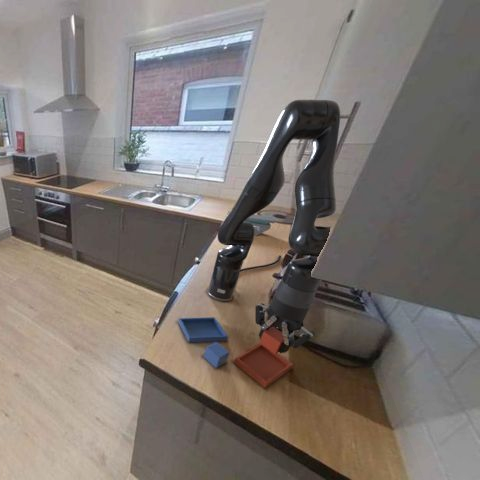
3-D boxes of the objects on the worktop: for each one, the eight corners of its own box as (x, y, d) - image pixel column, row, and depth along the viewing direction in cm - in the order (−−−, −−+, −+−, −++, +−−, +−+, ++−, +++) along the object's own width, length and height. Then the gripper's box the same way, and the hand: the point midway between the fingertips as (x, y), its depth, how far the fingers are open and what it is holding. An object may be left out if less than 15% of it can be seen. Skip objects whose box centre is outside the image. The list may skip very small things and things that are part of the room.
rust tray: (259, 346, 84) (261, 342, 83) (290, 369, 76) (293, 364, 75) (233, 362, 78) (235, 357, 78) (264, 388, 71) (266, 383, 70)
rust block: (268, 337, 76) (272, 326, 74) (284, 348, 73) (289, 336, 71) (258, 342, 74) (263, 331, 72) (275, 354, 71) (280, 342, 69)
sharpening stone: (267, 232, 165) (272, 216, 160) (269, 237, 158) (274, 221, 154) (224, 226, 175) (227, 211, 170) (224, 230, 168) (228, 215, 164)
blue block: (213, 351, 82) (216, 341, 80) (225, 362, 79) (229, 352, 77) (203, 357, 80) (206, 346, 78) (216, 368, 77) (219, 358, 75)
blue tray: (213, 321, 94) (214, 317, 93) (226, 341, 86) (228, 336, 85) (178, 322, 94) (179, 318, 93) (188, 342, 86) (189, 337, 85)
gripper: (334, 310, 62) (307, 358, 69) (272, 280, 73) (254, 324, 81) (318, 320, 59) (292, 370, 66) (256, 287, 70) (239, 332, 78)
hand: (271, 344), depth 73 cm, fingers closed on rust block, 4 cm apart
